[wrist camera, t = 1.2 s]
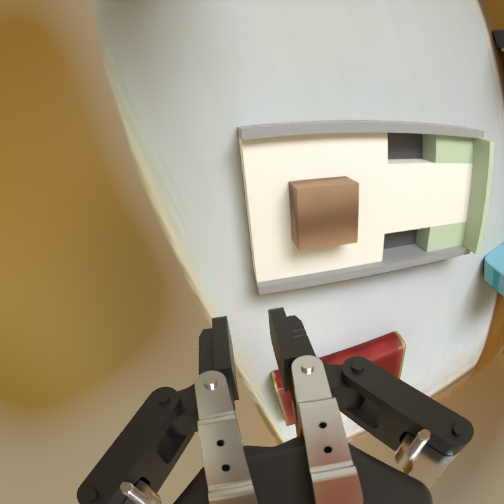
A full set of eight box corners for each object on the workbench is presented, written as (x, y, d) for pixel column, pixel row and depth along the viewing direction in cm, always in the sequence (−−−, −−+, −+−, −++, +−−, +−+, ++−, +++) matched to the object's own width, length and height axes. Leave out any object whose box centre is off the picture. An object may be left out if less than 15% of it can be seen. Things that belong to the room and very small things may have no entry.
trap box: (237, 127, 28) (243, 130, 23) (463, 127, 30) (494, 133, 25) (254, 276, 36) (262, 305, 31) (453, 241, 38) (478, 259, 33)
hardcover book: (269, 369, 44) (274, 389, 40) (394, 328, 44) (406, 344, 40) (282, 408, 49) (287, 427, 46) (389, 372, 50) (398, 388, 46)
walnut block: (288, 181, 28) (296, 189, 26) (345, 176, 29) (358, 183, 26) (291, 238, 31) (299, 251, 28) (345, 231, 32) (357, 242, 29)
